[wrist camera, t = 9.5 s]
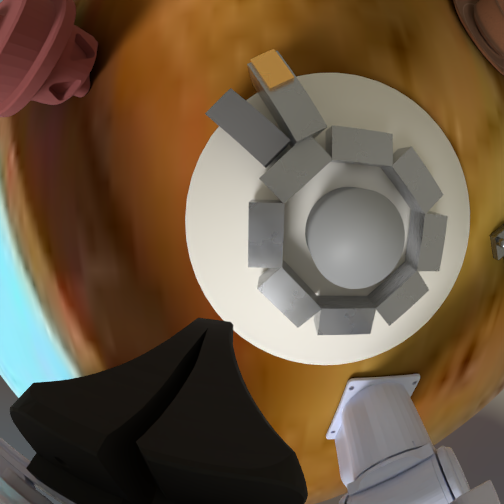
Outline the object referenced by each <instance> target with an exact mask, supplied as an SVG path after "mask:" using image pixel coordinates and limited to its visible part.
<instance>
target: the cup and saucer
mask: <svg viewBox="0 0 504 504" xmlns="http://www.w3.org/2000/svg"><path fill="white" fill-rule="evenodd" d="M453 1H454V5H455V8H456V11H457V14H458V16H459V18H460V20H461V22H462V24H463V26H464V28H465V30H466V31H467V33H468V34H469V36H470V38H471V39H472V40H473V42H474V43H475V45H476V46H477V47H478V49H479V50H480V51H481V53H482V54H483V55H484V56H485V58H486V59H487V60H488V61H489V62H490V63H491V64H492V65H493V66H494V67H495V68H496V69H497V70H498V71H499V72H500V73H501V74H502V75H504V0H453Z"/></svg>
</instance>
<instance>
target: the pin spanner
mask: <svg viewBox="0 0 504 504" xmlns="http://www.w3.org/2000/svg"><path fill="white" fill-rule="evenodd" d="M490 240H491V246H492V252H493V258H495V259H496V260H499V259H500V258H502V257H503V258H504V224H503V225H502V226H501V227H499V228H498V229H497V230H496V231H495V232H493V233H492V234H491V235H490Z"/></svg>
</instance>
